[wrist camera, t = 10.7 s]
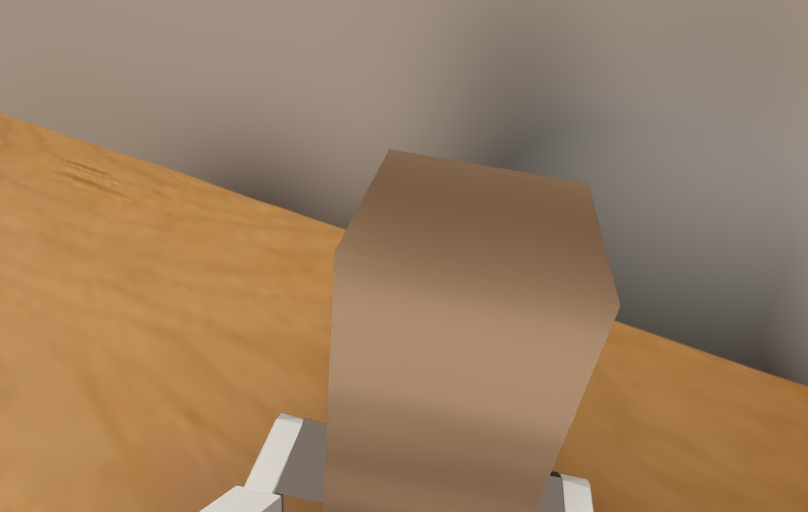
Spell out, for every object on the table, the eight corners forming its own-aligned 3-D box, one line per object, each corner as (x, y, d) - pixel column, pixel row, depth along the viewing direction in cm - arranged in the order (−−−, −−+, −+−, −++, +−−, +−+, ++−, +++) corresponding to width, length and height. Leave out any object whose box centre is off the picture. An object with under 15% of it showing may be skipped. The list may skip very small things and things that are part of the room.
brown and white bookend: (494, 774, 12) (773, 334, 5) (253, 709, 13) (201, 226, 6) (503, 425, 20) (614, 72, 13) (357, 394, 21) (389, 38, 14)
